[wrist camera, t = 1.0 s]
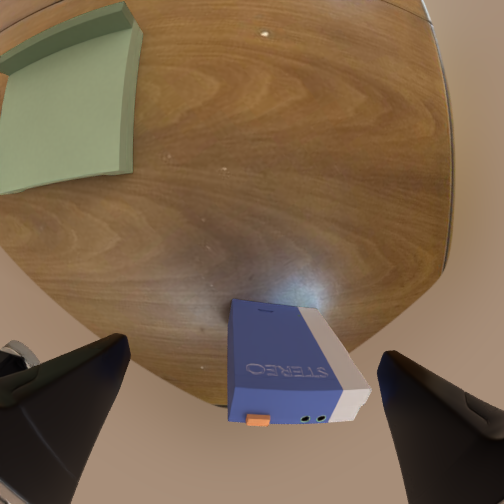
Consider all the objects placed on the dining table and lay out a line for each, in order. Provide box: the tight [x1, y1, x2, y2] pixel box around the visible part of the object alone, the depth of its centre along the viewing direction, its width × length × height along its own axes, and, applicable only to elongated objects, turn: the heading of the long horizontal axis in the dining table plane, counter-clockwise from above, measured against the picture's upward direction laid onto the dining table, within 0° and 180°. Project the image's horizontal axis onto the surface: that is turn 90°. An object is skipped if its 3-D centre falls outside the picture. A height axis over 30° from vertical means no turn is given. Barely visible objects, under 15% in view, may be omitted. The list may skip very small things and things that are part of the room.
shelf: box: [0, 1, 143, 195], centre depth 15 cm, size 14×15×6 cm
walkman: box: [228, 299, 372, 426], centre depth 18 cm, size 8×3×12 cm, turn 80°
